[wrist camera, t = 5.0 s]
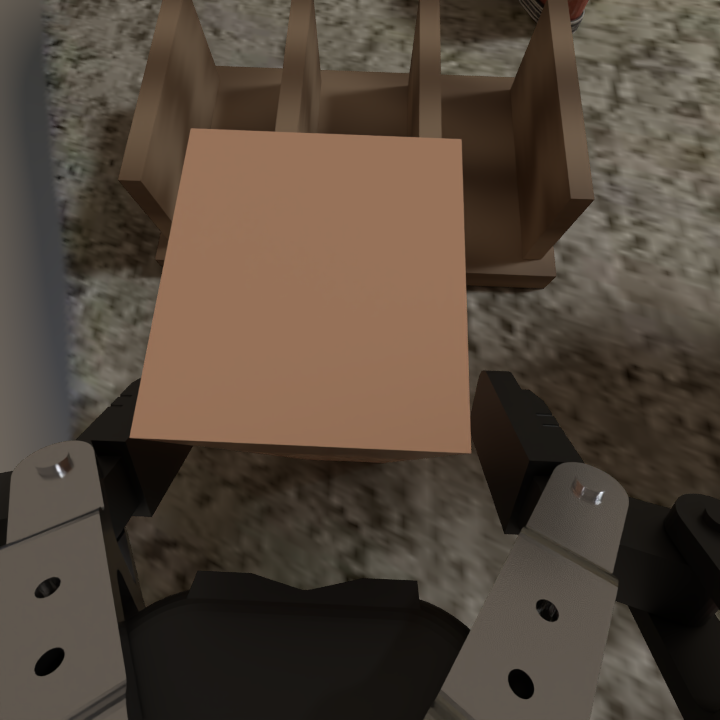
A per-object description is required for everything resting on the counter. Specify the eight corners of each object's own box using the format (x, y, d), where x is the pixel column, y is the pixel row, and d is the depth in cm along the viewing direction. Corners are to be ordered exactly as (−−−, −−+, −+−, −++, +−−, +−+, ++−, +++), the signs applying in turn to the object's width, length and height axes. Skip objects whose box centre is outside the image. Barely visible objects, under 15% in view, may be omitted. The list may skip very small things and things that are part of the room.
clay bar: (383, 462, 20) (471, 453, 4) (306, 459, 20) (129, 437, 5) (386, 377, 21) (461, 138, 6) (312, 374, 21) (190, 128, 6)
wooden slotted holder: (543, 288, 23) (614, 220, 16) (167, 272, 23) (95, 199, 16) (526, 99, 26) (579, -16, 20) (203, 87, 26) (155, -31, 20)
